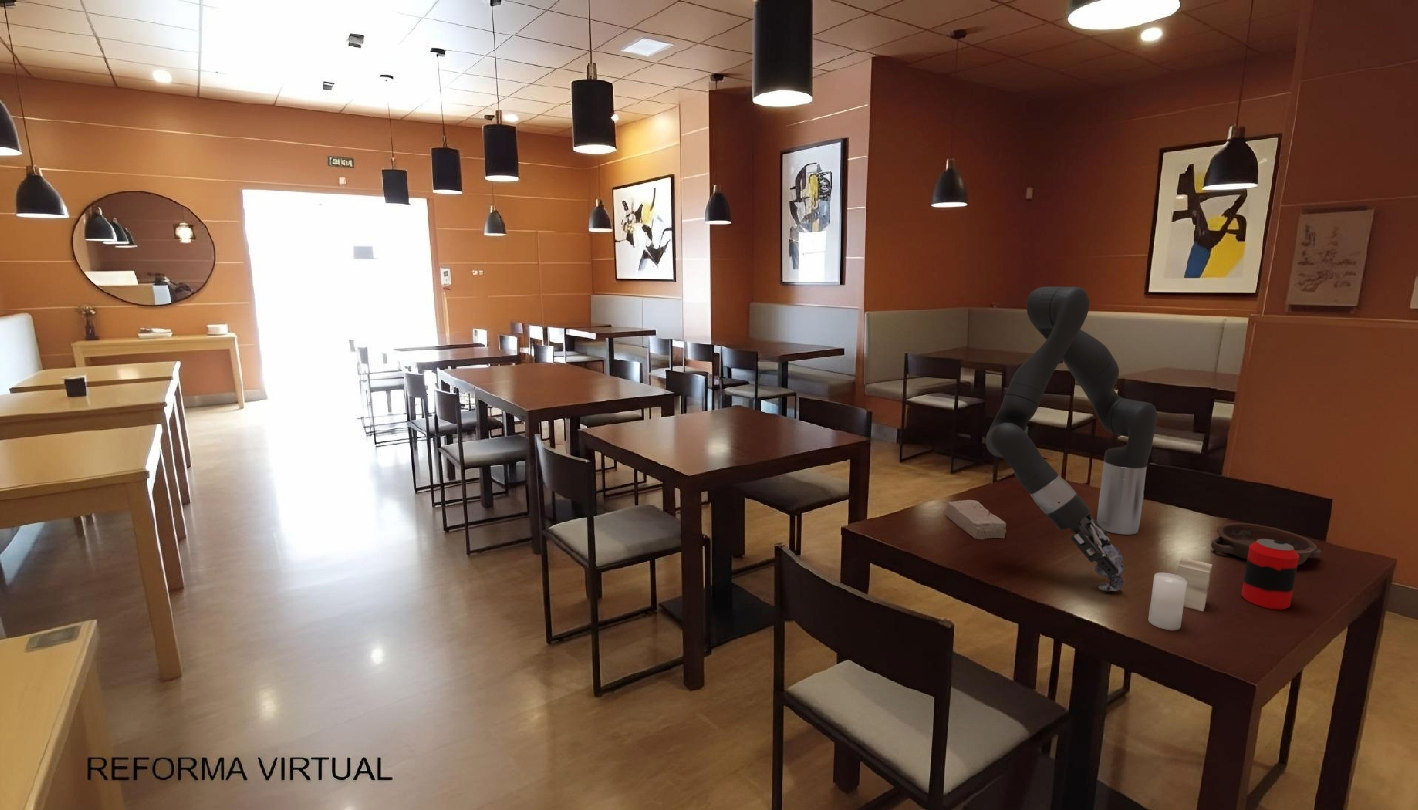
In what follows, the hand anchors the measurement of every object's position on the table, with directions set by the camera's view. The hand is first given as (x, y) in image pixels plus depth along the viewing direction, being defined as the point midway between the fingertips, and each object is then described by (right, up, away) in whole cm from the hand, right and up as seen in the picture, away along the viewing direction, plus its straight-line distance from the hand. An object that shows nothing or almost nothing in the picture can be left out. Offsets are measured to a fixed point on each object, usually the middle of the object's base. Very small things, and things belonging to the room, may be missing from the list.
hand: (1116, 566), depth 138 cm
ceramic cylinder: (+2, -8, -11) cm, 14 cm away
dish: (+45, -2, +19) cm, 49 cm away
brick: (-15, +1, +36) cm, 39 cm away
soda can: (+28, -6, -3) cm, 29 cm away
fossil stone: (-1, -5, +2) cm, 6 cm away
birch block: (+12, -6, -3) cm, 14 cm away
